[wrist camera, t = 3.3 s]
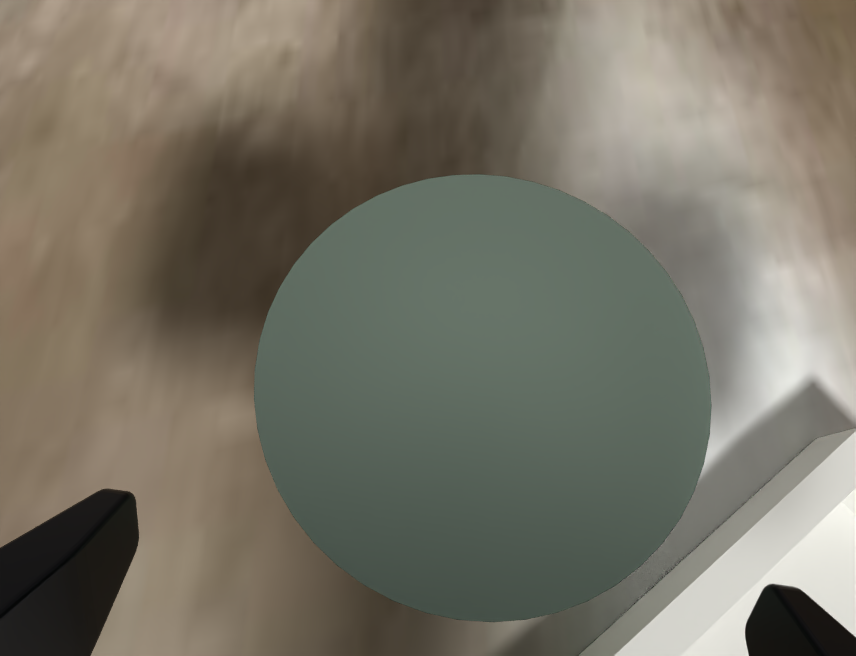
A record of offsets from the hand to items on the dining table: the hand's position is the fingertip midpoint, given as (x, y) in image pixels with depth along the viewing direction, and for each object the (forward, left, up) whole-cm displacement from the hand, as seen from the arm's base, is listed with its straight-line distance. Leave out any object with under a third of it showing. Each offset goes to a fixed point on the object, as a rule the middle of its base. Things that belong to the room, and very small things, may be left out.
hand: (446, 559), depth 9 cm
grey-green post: (+1, +1, -9) cm, 10 cm away
